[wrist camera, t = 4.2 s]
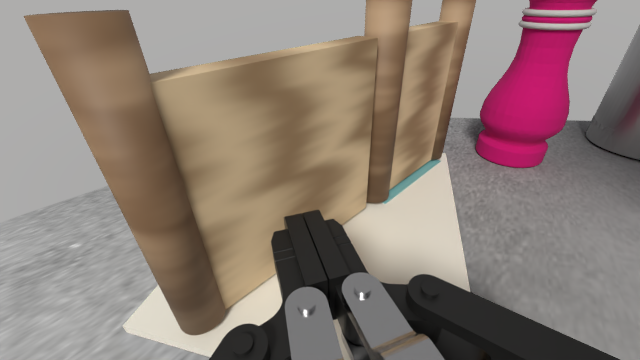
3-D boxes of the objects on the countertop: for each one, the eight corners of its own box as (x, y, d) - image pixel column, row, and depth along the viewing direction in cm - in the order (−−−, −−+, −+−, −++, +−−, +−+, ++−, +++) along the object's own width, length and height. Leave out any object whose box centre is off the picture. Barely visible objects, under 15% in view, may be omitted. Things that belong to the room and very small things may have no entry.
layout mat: (444, 158, 31) (445, 152, 31) (491, 440, 12) (496, 434, 11) (281, 142, 35) (281, 137, 35) (120, 330, 16) (115, 323, 16)
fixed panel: (376, 207, 23) (398, -29, 15) (350, 194, 25) (357, -26, 16) (447, 153, 30) (488, -27, 22) (423, 146, 32) (454, -25, 23)
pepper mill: (468, 136, 36) (527, -84, 25) (538, 143, 33) (635, -94, 23) (472, 164, 30) (550, -104, 19) (556, 176, 28) (698, -120, 17)
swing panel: (347, 197, 24) (352, -5, 17) (371, 209, 23) (389, -5, 15) (171, 313, 16) (19, 14, 8) (190, 345, 14) (28, 18, 7)
